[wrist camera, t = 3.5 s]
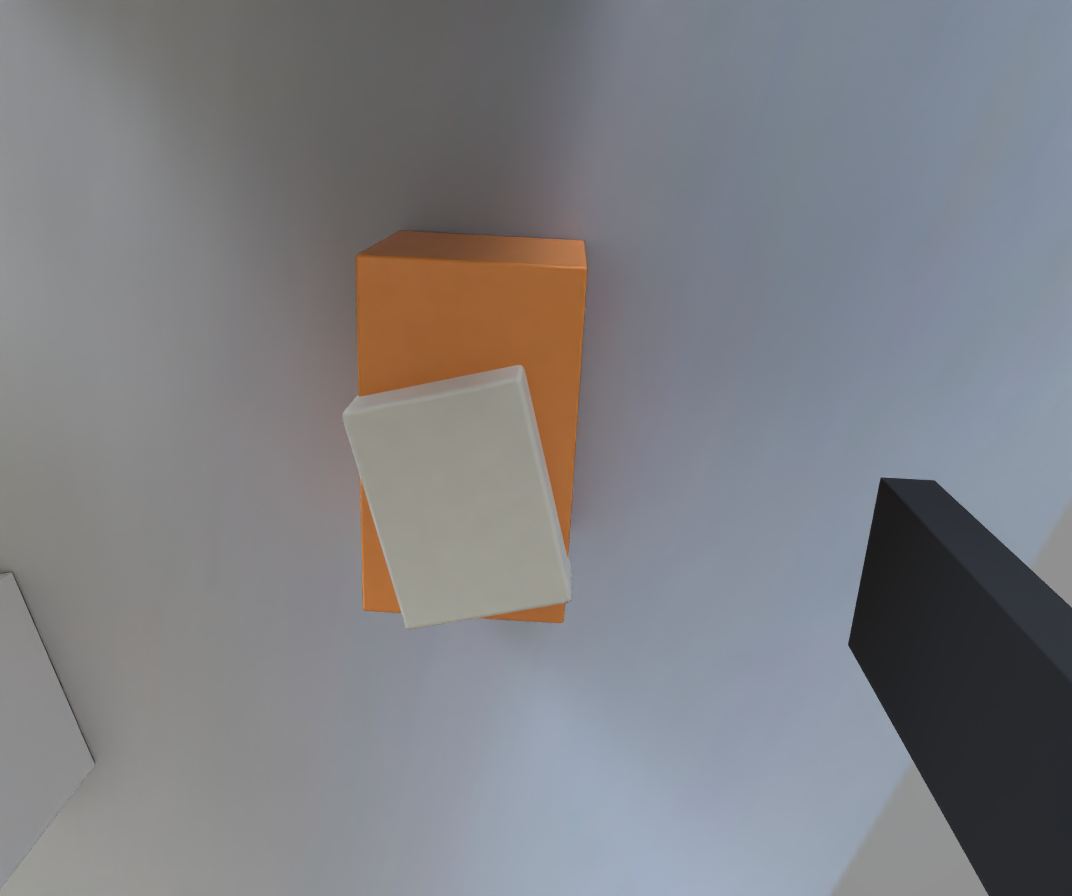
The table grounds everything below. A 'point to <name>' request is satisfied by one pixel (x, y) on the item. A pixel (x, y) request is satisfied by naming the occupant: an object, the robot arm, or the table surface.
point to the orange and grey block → (467, 424)
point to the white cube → (31, 735)
